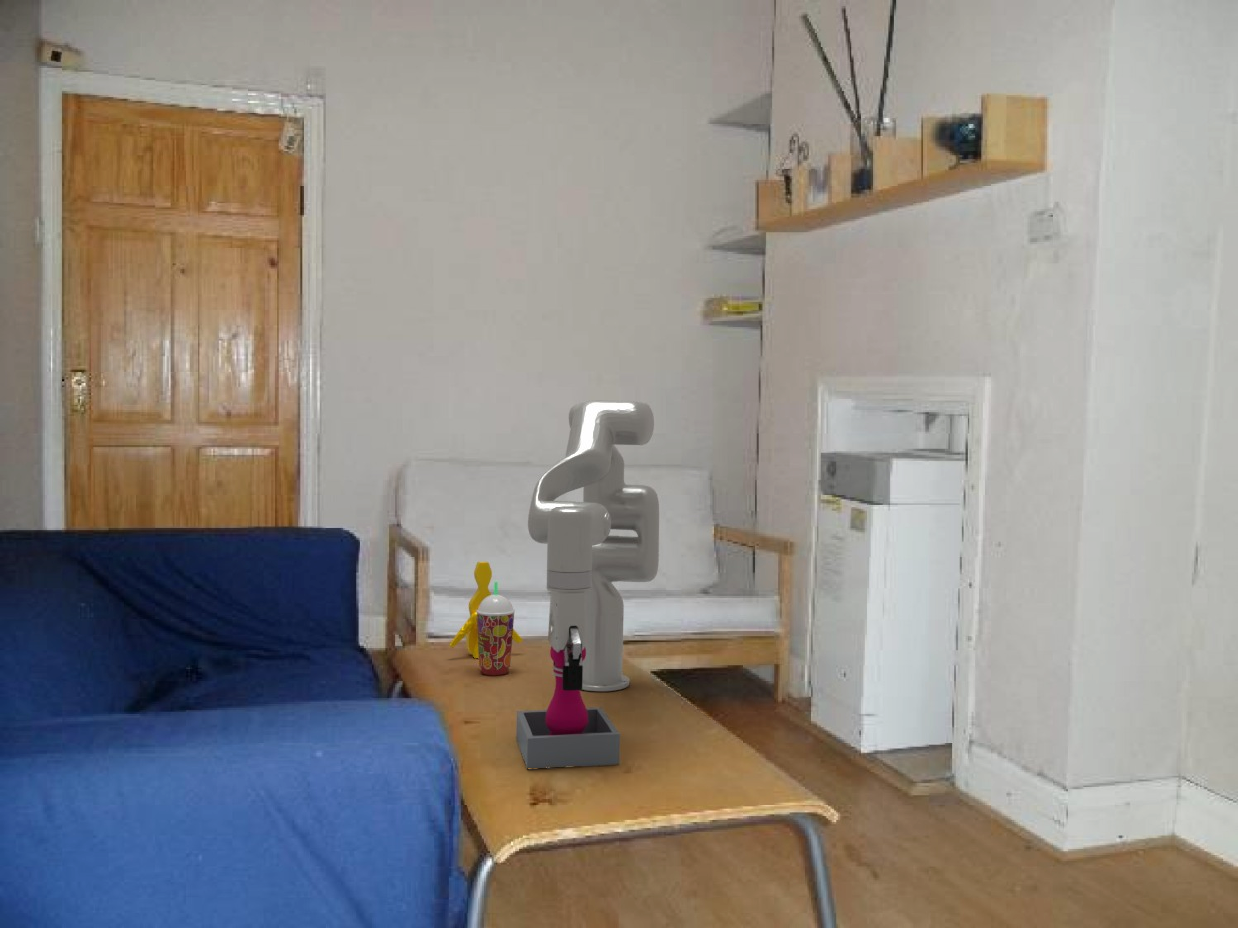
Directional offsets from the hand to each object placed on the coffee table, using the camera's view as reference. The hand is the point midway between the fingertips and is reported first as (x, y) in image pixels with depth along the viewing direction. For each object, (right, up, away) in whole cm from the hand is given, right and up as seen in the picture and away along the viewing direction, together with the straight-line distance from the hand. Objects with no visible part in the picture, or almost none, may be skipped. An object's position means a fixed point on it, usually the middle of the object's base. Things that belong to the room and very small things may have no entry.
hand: (567, 681), depth 164 cm
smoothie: (-19, -10, +52) cm, 56 cm away
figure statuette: (-23, -9, +67) cm, 71 cm away
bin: (0, -12, 0) cm, 12 cm away
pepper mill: (0, -11, +1) cm, 11 cm away
